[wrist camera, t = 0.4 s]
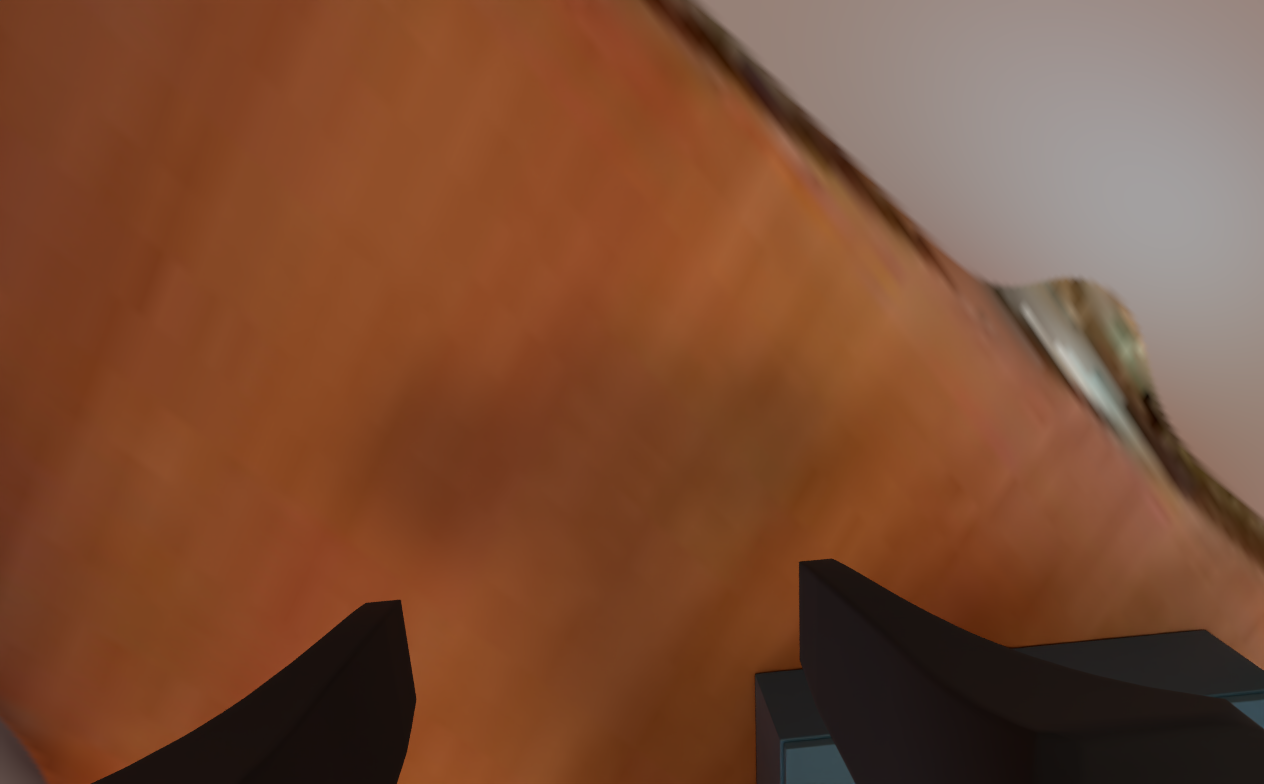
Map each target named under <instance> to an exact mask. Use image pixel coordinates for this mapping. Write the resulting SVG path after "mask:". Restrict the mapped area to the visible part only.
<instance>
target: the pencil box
mask: <svg viewBox="0 0 1264 784" xmlns="http://www.w3.org/2000/svg"><path fill="white" fill-rule="evenodd" d="M1013 650H1015V651H1018V652H1021V653H1024V654H1027V655H1030V656H1033V657H1036V658H1039V659H1042V660H1045V661H1049V662H1052V663H1055V664H1058V665H1062V666H1065V667H1068V668H1071V669H1075V670H1079V671H1083V672H1086V673H1090V674H1094V675H1098V676H1102V677H1106V678H1111V679H1115V680H1120V681H1124V682H1129V683H1133V684H1137V685H1142V686H1147V687H1152V688H1158V689H1165V690H1171V691H1177V692H1184V693H1190V694H1196V695H1203V696H1209V697H1215V698H1222V699H1226V700H1228V701H1229V702H1230V703H1232V704H1233V705H1234V706H1235V707H1237V708H1238V709H1239V710H1240V711H1242V712H1243V713H1244V714H1246V715H1247V716H1248V717H1249V718H1251V719H1252V720H1253V721H1255V722H1256V723H1257V724H1258V725H1260V726H1261V727H1262V728H1263V729H1264V670H1262V669H1261V668H1259V667H1258V666H1256V665H1255V664H1254V663H1252V662H1251V661H1249V660H1248V659H1246V658H1245V657H1244V656H1242V655H1241V654H1239V653H1238V652H1236V651H1235V650H1234V649H1232V648H1231V647H1229V646H1228V645H1226V644H1225V643H1223V642H1222V641H1221V640H1219V639H1218V638H1216V637H1215V636H1213V635H1212V634H1211V633H1209V632H1208V631H1206V630H1198V631H1188V632H1178V633H1168V634H1158V635H1147V636H1137V637H1127V638H1117V639H1107V640H1096V641H1086V642H1076V643H1066V644H1055V645H1045V646H1035V647H1025V648H1015V649H1013ZM755 697H756V763H757V784H855V782H854V780H853V778H852V776H851V774H850V772H849V771H848V769H847V767H846V765H845V763H844V761H843V759H842V757H841V755H840V753H839V751H838V749H837V747H836V745H835V744H834V742H833V740H832V738H831V736H830V734H829V732H828V730H827V728H826V726H825V724H824V722H823V720H822V718H821V716H820V714H819V712H818V710H817V708H816V705H815V702H814V699H813V697H812V694H811V691H810V689H809V686H808V683H807V680H806V677H805V674H804V671H803V669H800V670H790V671H780V672H770V673H759V674H755Z"/></svg>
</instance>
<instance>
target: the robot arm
mask: <svg viewBox="0 0 1264 784" xmlns="http://www.w3.org/2000/svg"><path fill="white" fill-rule="evenodd" d="M799 618H800V662H801V665H802V668H803V671H804V674H805V677H806V680H807V683H808V686H809V689H810V691H811V694H812V697H813V699H814V702H815V705H816V708H817V710H818V712H819V714H820V716H821V718H822V720H823V722H824V724H825V726H826V728H827V730H828V732H829V734H830V736H831V738H832V740H833V742H834V744H835V745H836V747H837V749H838V751H839V753H840V755H841V757H842V759H843V761H844V763H845V765H846V767H847V769H848V771H849V772H850V774H851V776H852V778H853V780H854V782H855V784H1264V729H1263V728H1262V727H1261V726H1260V725H1258V724H1257V723H1256V722H1255V721H1253V720H1252V719H1251V718H1249V717H1248V716H1247V715H1246V714H1244V713H1243V712H1242V711H1240V710H1239V709H1238V708H1237V707H1235V706H1234V705H1233V704H1232V703H1230V702H1229V701H1228V700H1226V699H1222V698H1215V697H1209V696H1203V695H1196V694H1190V693H1184V692H1177V691H1171V690H1165V689H1158V688H1152V687H1147V686H1142V685H1137V684H1133V683H1129V682H1124V681H1120V680H1115V679H1111V678H1106V677H1102V676H1098V675H1094V674H1090V673H1086V672H1083V671H1079V670H1075V669H1071V668H1068V667H1065V666H1062V665H1058V664H1055V663H1052V662H1049V661H1045V660H1042V659H1039V658H1036V657H1033V656H1030V655H1027V654H1024V653H1021V652H1018V651H1015V650H1013V649H1010V648H1007V647H1005V646H1002V645H1000V644H997V643H995V642H992V641H990V640H987V639H985V638H982V637H980V636H977V635H975V634H973V633H970V632H968V631H966V630H964V629H961V628H959V627H957V626H955V625H953V624H951V623H949V622H947V621H945V620H943V619H941V618H939V617H937V616H935V615H933V614H931V613H929V612H927V611H925V610H923V609H921V608H919V607H917V606H916V605H914V604H912V603H910V602H908V601H906V600H905V599H903V598H901V597H899V596H898V595H896V594H894V593H892V592H891V591H889V590H887V589H885V588H884V587H882V586H880V585H878V584H877V583H875V582H873V581H872V580H870V579H868V578H867V577H865V576H863V575H861V574H860V573H858V572H856V571H855V570H853V569H851V568H849V567H848V566H846V565H844V564H842V563H840V562H838V561H836V560H834V559H823V560H813V561H802V562H799ZM415 705H416V694H415V687H414V681H413V675H412V668H411V662H410V656H409V649H408V643H407V637H406V630H405V624H404V618H403V612H402V605H401V600H392V601H381V602H371V603H365V604H364V605H362V606H361V607H359V608H358V609H357V610H355V611H354V612H353V613H352V614H350V615H349V616H348V617H347V618H345V619H344V620H343V621H342V622H340V623H339V624H338V625H337V626H336V627H334V628H333V629H332V630H331V631H330V632H328V633H327V634H326V635H325V636H324V637H322V638H321V639H320V640H319V641H318V642H316V643H315V644H314V645H313V646H311V647H310V648H309V649H308V650H307V651H305V652H304V653H303V654H302V655H301V656H299V657H298V658H297V659H296V660H294V661H293V662H292V663H291V664H289V665H288V666H287V667H285V668H284V669H283V670H281V671H280V672H279V673H277V674H276V675H275V676H273V677H272V678H271V679H269V680H268V681H267V682H265V683H264V684H263V685H261V686H260V687H259V688H257V689H256V690H255V691H253V692H252V693H251V694H249V695H248V696H246V697H245V698H244V699H242V700H241V701H239V702H238V703H236V704H235V705H233V706H232V707H230V708H229V709H227V710H226V711H224V712H223V713H221V714H220V715H218V716H216V717H215V718H213V719H212V720H210V721H208V722H207V723H205V724H204V725H202V726H200V727H199V728H197V729H195V730H194V731H192V732H190V733H189V734H187V735H185V736H184V737H182V738H180V739H178V740H176V741H174V742H172V743H171V744H169V745H167V746H165V747H163V748H161V749H159V750H158V751H156V752H154V753H152V754H150V755H148V756H146V757H144V758H143V759H141V760H139V761H137V762H135V763H133V764H131V765H129V766H128V767H125V768H123V769H121V770H119V771H117V772H115V773H113V774H111V775H109V776H107V777H104V778H102V779H100V780H98V781H96V782H94V783H92V784H397V781H398V778H399V775H400V772H401V769H402V766H403V763H404V759H405V756H406V753H407V748H408V743H409V738H410V733H411V728H412V722H413V716H414V710H415Z"/></svg>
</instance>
